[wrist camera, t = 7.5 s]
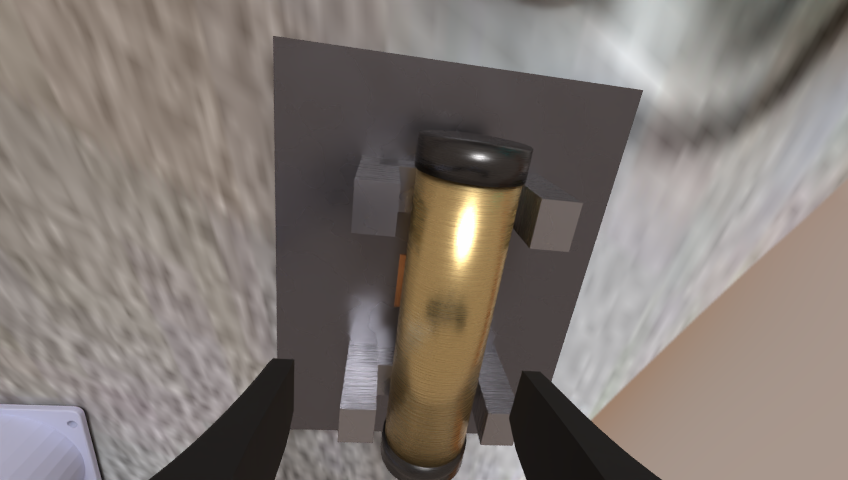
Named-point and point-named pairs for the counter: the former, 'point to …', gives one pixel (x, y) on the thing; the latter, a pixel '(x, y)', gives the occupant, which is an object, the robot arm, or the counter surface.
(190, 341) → the counter surface
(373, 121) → the grey cradle stand
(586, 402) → the counter surface
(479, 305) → the brass tube
